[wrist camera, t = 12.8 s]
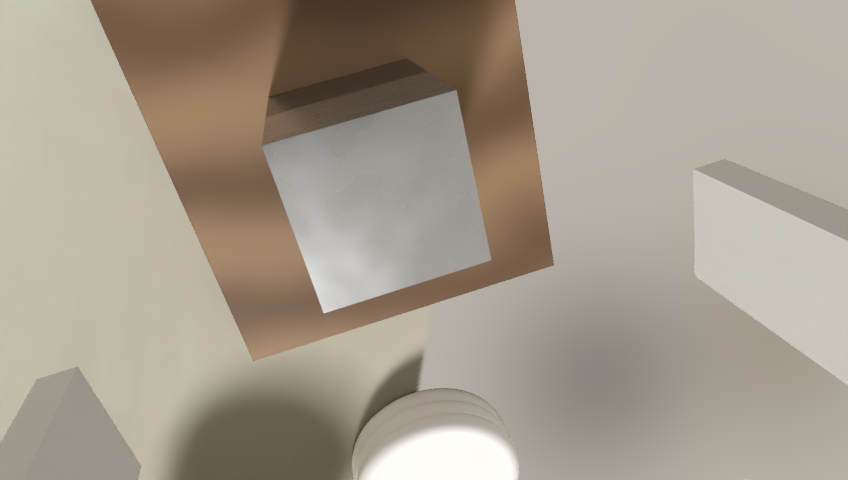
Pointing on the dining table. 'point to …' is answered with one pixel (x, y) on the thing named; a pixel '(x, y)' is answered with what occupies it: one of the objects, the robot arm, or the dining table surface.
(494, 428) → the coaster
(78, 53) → the dining table surface
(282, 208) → the cutting board
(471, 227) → the block
